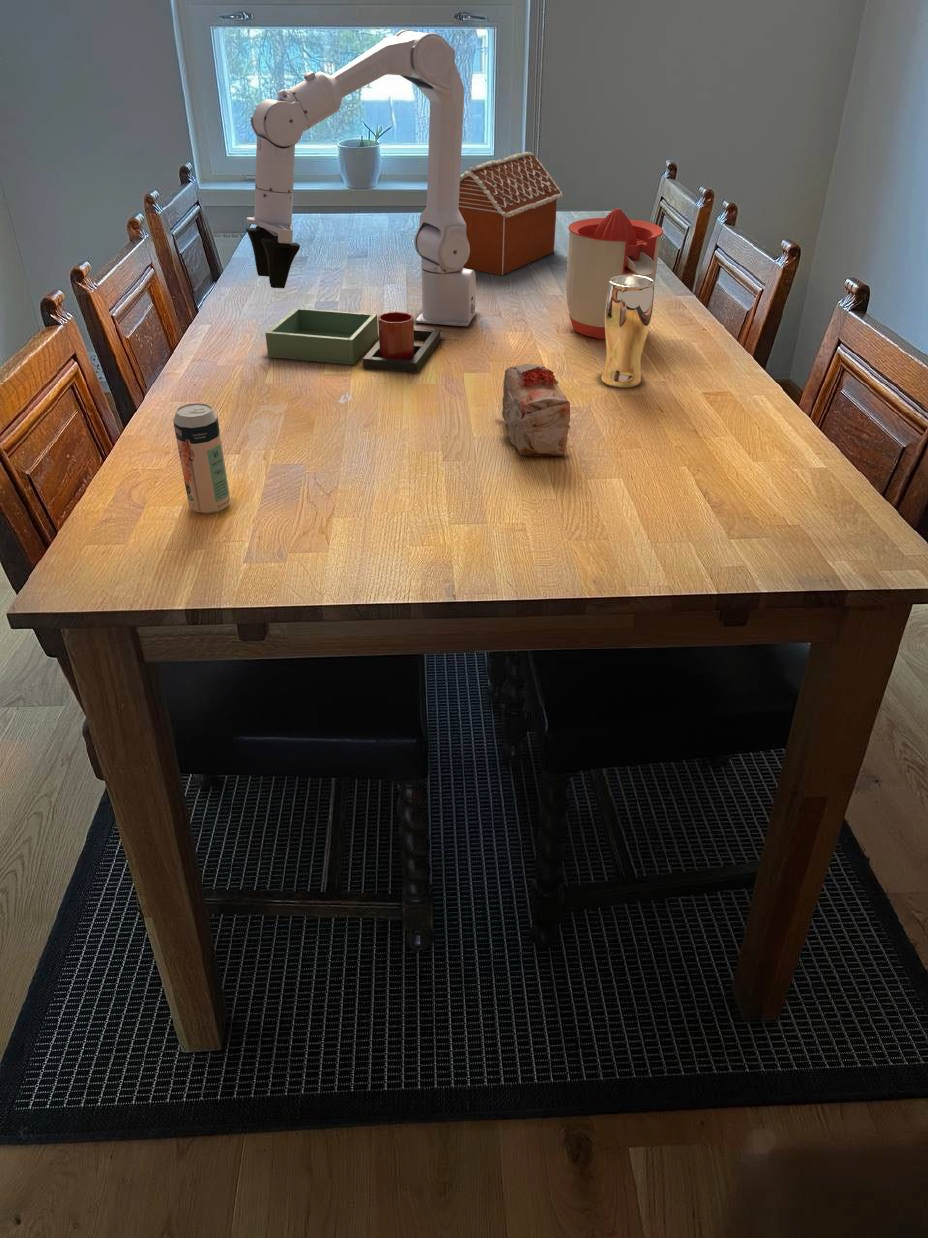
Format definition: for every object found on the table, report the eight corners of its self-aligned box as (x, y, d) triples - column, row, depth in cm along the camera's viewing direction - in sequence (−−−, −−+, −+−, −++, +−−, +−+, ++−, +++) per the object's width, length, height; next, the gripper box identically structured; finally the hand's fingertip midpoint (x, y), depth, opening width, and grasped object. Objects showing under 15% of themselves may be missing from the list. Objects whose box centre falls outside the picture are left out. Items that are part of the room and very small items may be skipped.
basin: (378, 337, 157) (377, 313, 154) (353, 364, 146) (352, 339, 144) (298, 330, 159) (295, 307, 157) (268, 357, 148) (265, 332, 146)
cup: (418, 356, 149) (417, 312, 145) (409, 367, 145) (407, 323, 141) (385, 353, 150) (383, 310, 146) (375, 364, 146) (373, 321, 142)
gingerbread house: (562, 251, 205) (569, 152, 193) (504, 277, 187) (508, 170, 176) (492, 239, 213) (494, 144, 201) (430, 264, 195) (428, 160, 184)
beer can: (193, 497, 109) (175, 401, 102) (233, 496, 110) (218, 400, 103) (186, 516, 105) (167, 419, 98) (228, 515, 106) (212, 418, 99)
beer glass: (647, 375, 143) (659, 276, 134) (639, 391, 138) (651, 289, 129) (603, 369, 145) (613, 272, 136) (593, 385, 140) (603, 284, 131)
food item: (574, 460, 118) (580, 387, 113) (514, 464, 117) (517, 391, 111) (547, 418, 129) (552, 349, 124) (492, 422, 128) (494, 353, 122)
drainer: (441, 338, 157) (441, 329, 156) (416, 372, 143) (416, 363, 143) (391, 334, 158) (391, 325, 157) (362, 367, 145) (362, 358, 144)
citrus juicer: (599, 353, 151) (611, 224, 140) (544, 323, 164) (551, 202, 152) (674, 339, 157) (693, 215, 145) (616, 311, 170) (628, 194, 158)
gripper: (236, 179, 143) (234, 269, 150) (261, 195, 133) (258, 291, 140) (280, 183, 146) (277, 271, 153) (307, 199, 136) (302, 293, 143)
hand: (270, 281), depth 147 cm, fingers open, 7 cm apart
